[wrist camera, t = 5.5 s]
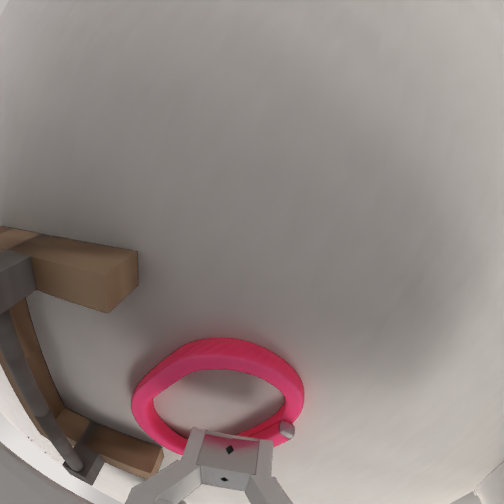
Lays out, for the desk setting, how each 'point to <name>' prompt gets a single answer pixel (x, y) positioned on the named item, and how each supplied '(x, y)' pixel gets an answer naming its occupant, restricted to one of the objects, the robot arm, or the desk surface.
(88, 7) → the desk surface
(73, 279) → the wooden bar clamp
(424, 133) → the desk surface
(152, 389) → the fitness band
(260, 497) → the robot arm
